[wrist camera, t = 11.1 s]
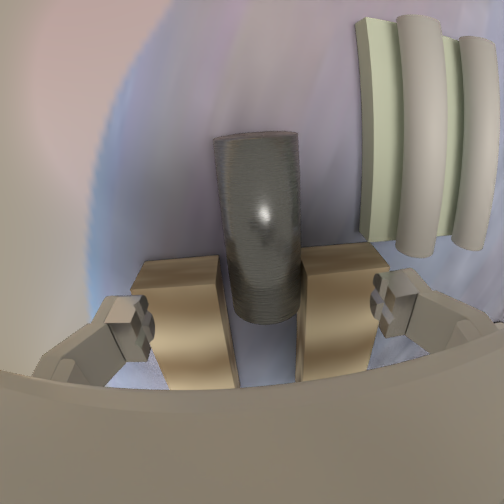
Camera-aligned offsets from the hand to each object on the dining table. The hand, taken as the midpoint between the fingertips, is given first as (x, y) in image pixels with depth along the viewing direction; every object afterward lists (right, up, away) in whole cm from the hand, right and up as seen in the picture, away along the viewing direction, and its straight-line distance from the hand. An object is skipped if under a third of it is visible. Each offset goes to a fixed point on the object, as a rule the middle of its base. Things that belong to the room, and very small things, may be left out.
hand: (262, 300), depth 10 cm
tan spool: (+1, -5, +16) cm, 17 cm away
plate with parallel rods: (+13, +11, +8) cm, 19 cm away
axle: (0, +4, +11) cm, 12 cm away
